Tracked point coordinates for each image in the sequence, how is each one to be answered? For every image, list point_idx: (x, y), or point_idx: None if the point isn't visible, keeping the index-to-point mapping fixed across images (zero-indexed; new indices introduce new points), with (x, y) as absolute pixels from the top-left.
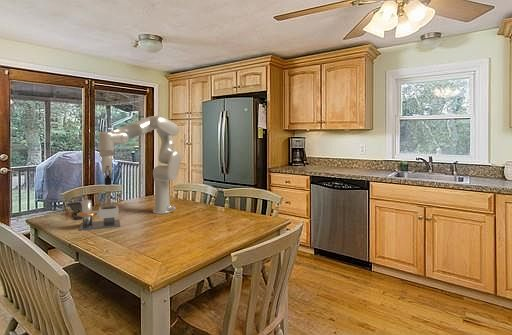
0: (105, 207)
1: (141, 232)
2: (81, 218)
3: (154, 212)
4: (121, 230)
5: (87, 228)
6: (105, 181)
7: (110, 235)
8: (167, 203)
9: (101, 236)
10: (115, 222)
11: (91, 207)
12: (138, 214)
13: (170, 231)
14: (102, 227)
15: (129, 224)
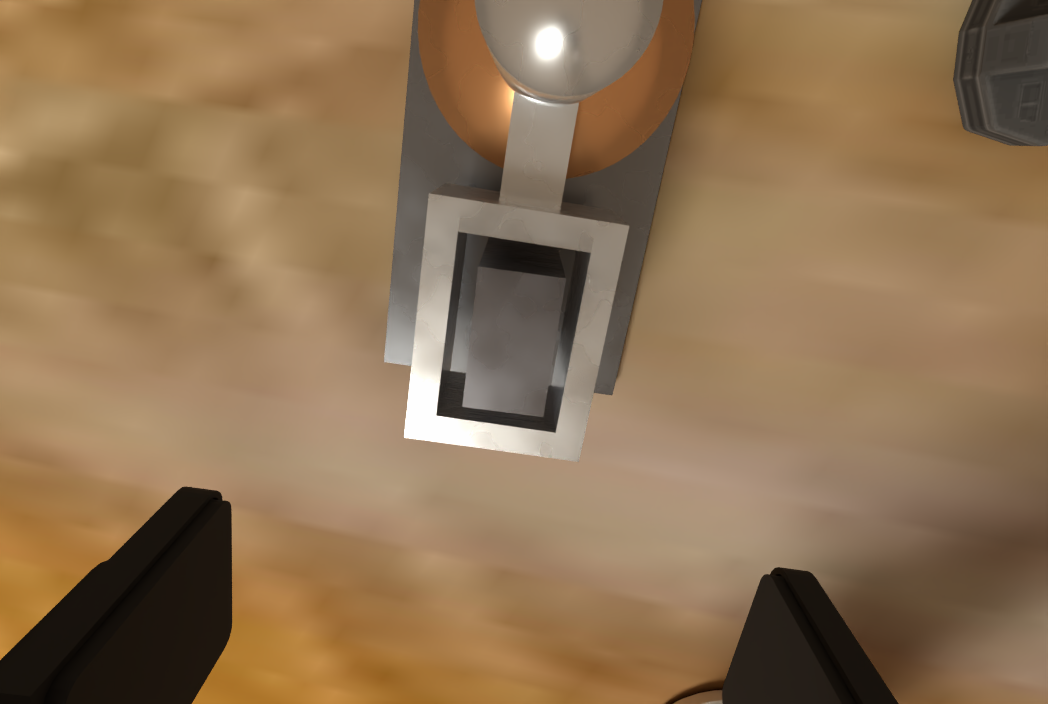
0: (475, 294)
1: (110, 461)
2: (968, 34)
3: (703, 697)
4: (244, 338)
5: (412, 39)
6: (111, 576)
7: (109, 221)
8: None
9: (104, 139)
10: None
11: (526, 94)
12: None
13: None
14: (400, 196)
15: None
